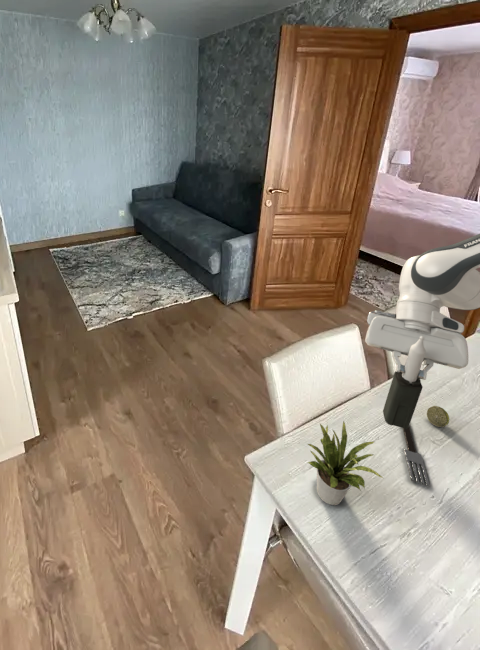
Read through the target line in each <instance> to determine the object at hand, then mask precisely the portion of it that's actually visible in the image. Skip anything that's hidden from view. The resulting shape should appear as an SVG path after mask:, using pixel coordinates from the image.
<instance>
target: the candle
mask: <svg viewBox="0 0 480 650" xmlns="http://www.w3.org/2000/svg"><path fill="white" fill-rule="evenodd" d="M423 340H424V337H422V336H421V337H420V339H419V340H418V341H417V343H416V344H414V345H412V346H411V347H410V351H409V354H408V356H407V357H406V360H405V364H404V366H405V369H404V370H405V372H404V374H402V373H398V372H396V370H395V371H394V373H393V376H392V380H391V383H390V387H389V389H388V393H387V395H386V400H385V403H384V406H383V409H382V413H383V418H384V422H385V423H386V424H388V425H389V426H393V427H397V428H401V429H402V430H403V429H408V427H410V424H411V422H412V418H413V416H414V413H415V410H416V407H417V404H418V402H419V399H420V397H421V393H422V391H423V388H424V387H423V384H422V379H419V378H417V377H418V374H419V371H420V370H421V368H422V364H423V363H424V360H423V359H424V356H425V353H426V350H425V348H424V343H423Z"/></svg>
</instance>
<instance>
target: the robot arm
mask: <svg viewBox="0 0 480 650" xmlns="http://www.w3.org/2000/svg"><path fill="white" fill-rule="evenodd" d="M479 268H480V233H478V234H476V235H474V236H470V237H468V238H466V239H464V240H461V241H458V242H455V243H453V244H449V245H445V246H438V247H434V248H431V249H428V250H426V251H424V252H423V253H421V254H420V255H415V256H412V257H410V258H408V259H406V261H405V262H404V264H403V266H402V269H401V272H400V277H399V281H398V292H399V297H398V299H397V301H396V306H395V313H392V312H387V311H382V310H379V309H376V310H372V311H370V312H369V313H367V318H366V322H367V325H368V327H367V331H366V333H365V339H364V342H365V343H366V345H367V346H369V347H373V348H376V349H380V350H384V351H387V352H392V354H391V357H392V360H393V361H394V364H395V365H396V366H395V371H396V372H398V373H402V374H404V372H405V370H404V369H405V364H402V363H401V360H400V357H401V356H402V355H403V356H405V357H406V356H407V357H408V354H409V351H410V347H411V346H412V345H414V344H416V343H417V341H418V340H419V339H420V337H421V336H422V337H424V340H423V343H424V348H425V350H426V353H425V356H424V359H423V365H424V366H425V367H424V368H422V369H420V371H419V374H418V377H417V378H419V379H420V380H422V381H425V380H427V376H428V375H427V374H428V372H429V371H430V370H431V369H432V368H433V367H434V364H437V365H441V366H444V367H448V368H453V369H456V370H460V369H464V368H466V367H467V366H468V365H469V346H468V342H467V339H466V337H465V336H464V335H463V334H462V333H464V331H465V325H464V324H463V323H461V322H460V321H458V320H456V319H453V318H451V317H449V316H447V315H445V314H444V313H441V308H450V309H454V310H462V311H474V310H478V309H480V271H479V270H478V269H479Z"/></svg>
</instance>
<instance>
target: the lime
mask: <svg viewBox="0 0 480 650" xmlns="http://www.w3.org/2000/svg"><path fill="white" fill-rule="evenodd" d="M426 418H427V420H428V422H429V423H431V425H433V426H435V427H438V428H444V427H446V426H448V425H449V423H450V415H449V413H448V411H446V409H444V408H443V407H441V406H439V405H432V406H430V407H428V408H427V410H426Z"/></svg>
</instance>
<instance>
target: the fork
mask: <svg viewBox="0 0 480 650" xmlns="http://www.w3.org/2000/svg"><path fill="white" fill-rule="evenodd" d="M402 431H403V436H404V440H405V445H406V448H407V449H405V448H404V449H403V454H404V458H405V461H406V465H407V470H408V475H409V479H410V481H411V482H414V481H415V483H416V484H419V483H420V485H425V486H426V487H430V483H429V482H430V481H429V479H428V476H427V475H428V474H427V472H426V468H425V463H424V460H423V457H422V454H421V453H417V449H416V446H415V443H414V438H413V435H412V430H411V427H410V426H409V427H408V429H403V428H402Z"/></svg>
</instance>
